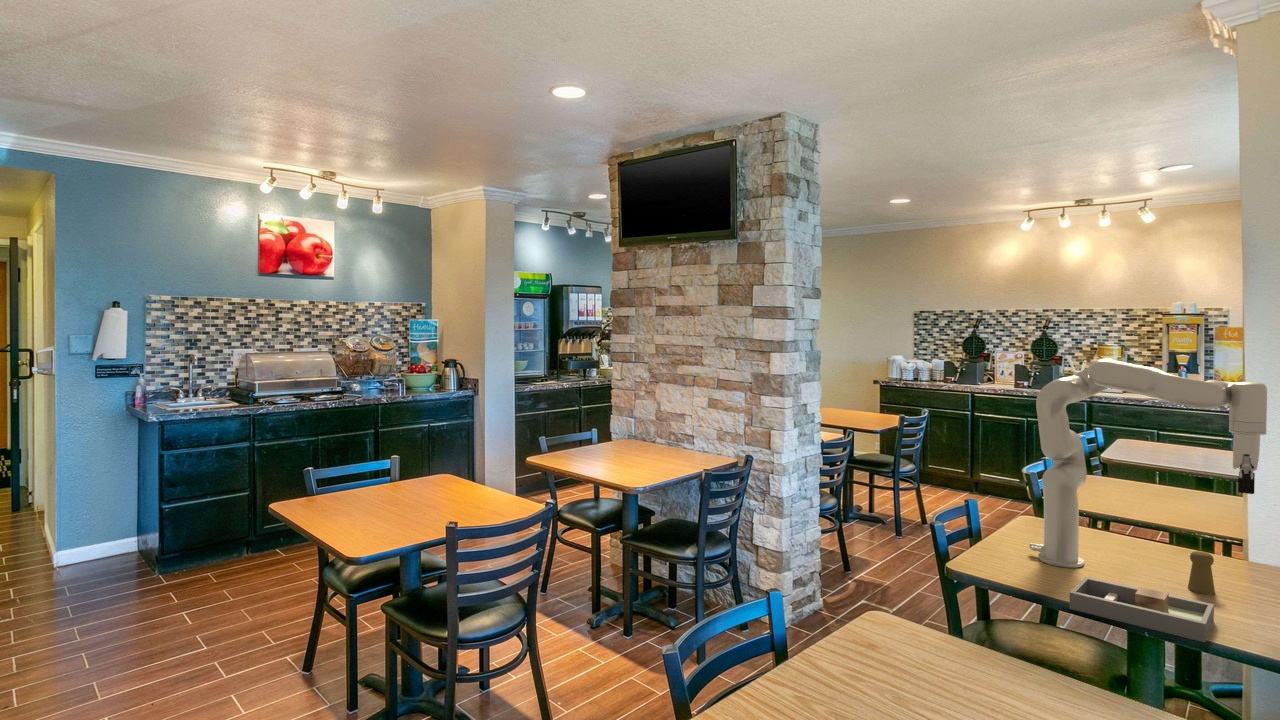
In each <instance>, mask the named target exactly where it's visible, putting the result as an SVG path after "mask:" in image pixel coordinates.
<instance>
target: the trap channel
mask: <svg viewBox="0 0 1280 720" xmlns="http://www.w3.org/2000/svg"><path fill="white" fill-rule="evenodd" d="M1139 588H1140V587H1139ZM1139 588H1138V587H1135V586H1130V585H1126V584H1120V583H1116V582H1111V581H1107V580H1101V579H1097V578H1092V577H1087V576H1085V577H1083V578H1082V580H1080V582H1079V583H1077V585H1075V587H1073V588H1072V589H1071V590H1070V591H1069V610H1073V611H1077V612H1080V613H1084V614H1089V615H1093V616H1097V617H1101V618H1105V619H1109V620H1112V621H1118V622H1121V623H1125V624H1129V625H1133V626H1137V627H1141V628H1146V629H1149V630H1153V631H1157V632H1161V633H1164V634H1170V635H1172V636H1173V635H1174V636H1177V637H1181V638H1186V639H1189V640H1193V641H1197V642H1203V643H1206V641H1207V639H1208V636H1209V635H1210V632H1211V629H1212V627H1213V625H1214V621H1215V610H1214V609H1215V605H1214V603H1209V602H1205V601H1200V600H1196V599H1191V598H1190V599H1189V598H1186V597H1182V596H1177V595H1172V594H1169V596H1168V612H1167V613H1165V612H1160V611H1156V610H1152V609H1147V608H1143V607H1139V606H1135V593H1136V592H1137V590H1138V589H1139Z"/></svg>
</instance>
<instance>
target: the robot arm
mask: <svg viewBox="0 0 1280 720" xmlns="http://www.w3.org/2000/svg"><path fill="white" fill-rule="evenodd" d="M1107 389H1113V390H1118V391H1123V392H1126V393H1132V394H1136V395H1141V396H1145V397H1150V398H1153V399H1159V400H1162V401H1166V402H1169V403H1173V404H1178V405H1183V406H1188V407H1193V408H1197V409H1198V408H1199V409H1204V410H1213V409H1216V408H1219V407H1228V406H1229V414H1228V419H1229V420H1228V421H1229V423H1228V432H1229V433H1232V434H1233V440H1232V441H1233V442H1232V468H1233V469H1234V470H1237V469H1239V471H1238V481H1237V492H1238V493H1239V494H1240V493H1241V494H1249V495H1254V494H1255V483H1256V482H1255V481H1256V480H1255V479H1256V478H1255V475H1256V473H1255V471H1257V470H1258V466H1259V458H1260V451H1261V449H1260V448H1261V436H1263V435H1267V418H1268V417H1267V416H1268V415H1267V414H1268V413H1267V412H1268V409H1267V408H1268V387H1267V385H1266V384H1264V383H1262V382H1254V381H1250V382H1249V381H1238V382H1233V381H1232V382H1231V381H1225V380H1216V379H1208V380H1204V381H1203V380H1197V379H1193V378H1188V377H1183V376H1177V375H1173V374H1170V373H1167V372H1165V371H1163V370H1161V369H1159V368H1156V367H1151V366H1146V365H1145V366H1144V365H1139V364H1136V363H1135V364H1134V363H1128V362H1124V361H1123V362H1122V361H1121V360H1119V359H1116V358H1111V357H1108V358H1106V357H1105V358H1100V359H1096V360H1095V361H1093V362H1092V363H1090V365H1089V366H1088V367H1087V368H1085V369H1083V370H1080V371H1079V372H1075V373H1074V374H1072V375H1070V376H1063V377H1059V378H1056V379H1053V380H1052V381H1050V382H1049V383H1047V384H1046V385H1044V386H1043V387H1042V388H1041V389H1040V391H1039V393H1038V394H1037V396H1036V402H1035V405H1036V407H1035V408H1036V415H1037V421H1038V433H1039V440H1040V441H1039V442H1040V448H1041V452H1042V454H1043V455H1044V456H1045V457H1046V458H1047V459H1049V460H1051V461H1052V465H1051V466H1050V467H1048V468H1047V469H1046V470H1045V472H1044V473H1043V474H1042V478H1041V487H1042V493H1043V543H1040V544H1038V543H1034V542H1030V543H1029V549H1030V550H1031V551H1034V552H1039V553H1038V555H1037V556H1038V560H1040V561H1041V562H1042V563H1044V562H1045V564H1046V565H1051V566H1056V567H1059V568H1060V567H1062V568H1070V569H1072V568H1076V569H1077V568H1081V567H1084V565H1085V560H1084V559H1083V558H1081V557H1080V556H1079V548H1080V547H1079V545H1080V544H1079V531H1080V528H1079V525H1080V524H1079V522H1080V513H1079V510H1080V509H1079V508H1080V507H1079V497H1078V489H1080V488H1082V487H1083V486H1084V484H1085V483H1086V481H1087V477H1088V476H1087V475H1088V474H1087V465H1086V457H1085V451H1084V445H1083V442H1082V440H1081V437H1080V435H1079V434H1078V433H1077V432H1075V431H1074V430H1072V429H1070V422H1069V421H1070V419H1069V414H1068V412H1067V406H1068V405H1070V404H1073V403H1078V402H1080V401H1084V400H1086V399H1088V398H1090V397H1092V396H1094V395H1098V394H1099V393H1101V392H1103V391H1105V390H1107Z"/></svg>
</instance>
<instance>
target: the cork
mask: <svg viewBox="0 0 1280 720" xmlns="http://www.w3.org/2000/svg"><path fill="white" fill-rule="evenodd" d="M1189 559H1190V561H1191V563H1192V564H1191V567H1190V574H1189V579H1188V585H1187V590H1189V591H1191V592H1194V593H1196V594H1202V595H1209V596H1211V595H1215V594H1216V590H1215V583H1214V576H1213V569H1212V565H1213V564H1214V563H1215V561H1214V557H1213V555H1212V554H1211V553H1210V552H1209V553H1208V552H1205V551H1200V550H1198V551H1197V550H1196V551H1195V550H1194V551H1192V552H1190V555H1189Z"/></svg>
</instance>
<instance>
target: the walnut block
mask: <svg viewBox="0 0 1280 720" xmlns="http://www.w3.org/2000/svg"><path fill="white" fill-rule="evenodd" d="M1169 595H1170V594H1169V593H1168V592H1165V591H1159V590H1156V589H1155V590H1154V589H1150V588H1146V587H1141V586H1140V587H1139V589H1138V590H1137V592H1136V593H1135V606H1139V607H1143V608H1147V609H1152V610H1156V611H1160V612H1165V613H1167V612H1168V596H1169Z"/></svg>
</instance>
